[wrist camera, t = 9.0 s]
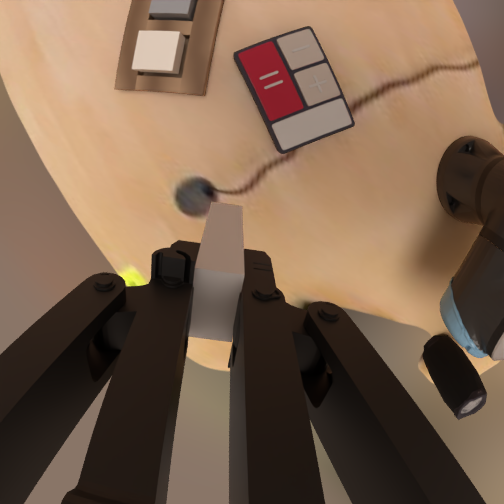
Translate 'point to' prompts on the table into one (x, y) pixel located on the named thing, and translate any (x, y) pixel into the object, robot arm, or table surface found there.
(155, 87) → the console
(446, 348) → the portable speaker
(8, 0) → the table surface
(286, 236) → the table surface
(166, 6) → the grey key
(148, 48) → the white key
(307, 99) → the calculator
